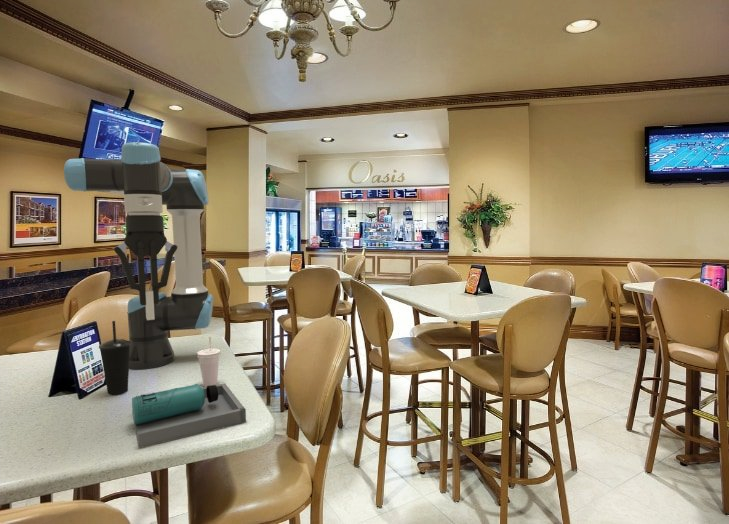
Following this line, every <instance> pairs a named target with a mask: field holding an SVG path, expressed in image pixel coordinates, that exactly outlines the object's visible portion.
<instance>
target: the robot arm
mask: <svg viewBox="0 0 729 524" xmlns="http://www.w3.org/2000/svg"><path fill="white" fill-rule="evenodd" d="M120 156H121V158H117V159H116V158H115V159H107V158H106V159H105V158H104V159H103V158H83V157H81V158H70V159H68V160H66V161H65V163H64V167H63V176H64V177H63V178H64V180H65V183H66V186H67V188H69V189H70V190H72V191H76V192H77V191H79V192H97V193H107V194H113V195H118V196H122V197H123V198H124V199H123V201H124V202H123V203H124V212H125V213H126V214H127V215H126V216H125V232H126V235H125V237H124V239H123V242H121V243H120V244H119V245H118V246H114V247H113V251H114V252H115V253H116V255H117V256H118V257H119V259H120V262H121V265H122V268H123V271H124V275H125V276H126V280H127V282H128V285H129V287H130V289H132V290H137V291H138V295H137V296H134V297H132V298H130V299H129V300H128V301H127V312H126V314H127V322H128V323H127V325H128V327H127V328H128V338H129V339H128V341H130V342H131V344H130V353H129V369H131V370H145V369H153V368H159V367H162V366H167V365H168V363H169V364H171V363H172V362H174V361H175V351H174V348H173V346H172V345H171V341H170V340H169V337H168V336H169V335H168V333H169V332H170V331H171V332H172V331H186V330H195V331H196V330H200V329H207V328H208V327H209V326H210V324H211V320H212V318H213V317H212V316H213V308H214V295H213V294H211V293H209V289H208V288H207V287H206V286H205V285H204V277H203V276H204V275H203V259H202V258H203V256H202V255H203V254H202V240H201V239H202V238H201V235H202V234H201V218H200V217H201V215H202V213H203V212H204V211H205V206H207V205H209V192H208V187H207V183H206V179H205V177H204V174H203V172H202V171H201V170H198V169H189V168H183V169H182V168H181V169H180V168H178V169H177V168H175V169H174V168H169V167H168V166H167V164H165V163H163V161H161V160H162V158H161V154H160V149H159V147H158V146H157V145H156V144H154V143H153V144H152V143H149V142H148V143H147V142H139V141H138V142H137V141H136V142H135V141H134V142H126V143H124V144H122V146H121V155H120ZM163 206H166V211H167V212H168V213H169V214H170V215H171V218H172V219H171V220H172V238H173V239H172V240H173V243H172V242H170V241H168V239H167V236H166V235H165V228H164V216H162V215H161V214H162V213H163V211H164V210H163ZM164 247H165V248H164ZM128 248H129V250H130V251H131V252H132V253H133V254H134V255H135V256H136V261H137V266H136V267H137V279H138V280H137V281H138V283H136V281H135V277H134V274H133V272H132V269H131V266H130V263H129V261H128V257H127V255H126V253H127V252H128V250H127V249H128ZM163 248H164V250H165V252H166V253H165V257H164V261H163V266H162V271H161V274H160V275H161V276H160V280H159V272H158V255H159V253H160V252H162V249H163ZM148 256H149V257H148ZM145 257H148V258H149V266H150V267H149V268H150V269H149V270H150V283H151V286H150V287H151V289H147V287H146V271H145V270H146V269H145ZM173 257H174V271H175V272H174V273H175V274H174V275H175V287H174V288H173V289H172V291H171V296H167V294H166V292H164V291H162V292H161V291H159V290H160V289H162V288H165V287H166V286H167V285H168V280H169V278H170V277H169V276H170V270H171V268H172V267H171V266H172V263H173ZM173 360H174V361H173ZM170 362H171V363H170Z"/></svg>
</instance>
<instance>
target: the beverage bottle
mask: <svg viewBox="0 0 729 524" xmlns="http://www.w3.org/2000/svg"><path fill="white" fill-rule="evenodd" d="M216 385H217V384H216ZM216 385H211V386H207V389H206V393H207V399H208V402H209V403H211V402H214V401H217V400H218V389H217V386H216ZM204 403H205V396H204V390H203V386H201V385H199V384H197V383H195V384H191V385H186V386H180V387H174V388H171V389H167V390H161V391H157V392H148V393H146V394H140V395H136V396H134V397H132V399H131V404H132V406H131V407H132V417H133V424H134V425H135V426H136V425H138V424H143V423H148V422H151V421H153V422H154V421H155V420H156V421H158V420H159V419H163V418H167V417H169V418H170V417H171V416H175V415H179V414H183V413H187V412H191V411H196V410H200V409H201V408H202V407H203V405H204Z"/></svg>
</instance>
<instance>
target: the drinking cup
mask: <svg viewBox="0 0 729 524" xmlns="http://www.w3.org/2000/svg"><path fill="white" fill-rule="evenodd" d="M111 322H112V323H111V325H112V336H113V337H112V338H113V339H109V340H107V341H105V342H103V343H101V344H99V345H98V349H99V350H100V356H101V361H102V368H103V373H104V379H105V380H104V381H105V384H106V390H107V395H109V396H118V395H123V394H125V393H127V392H128V391H129V372H130V370H129V369H130V368H129V353H130V344H131V342H130V341H129V340H127V339H123V338H117V333H116V332H117V329H116V320H112V321H111Z"/></svg>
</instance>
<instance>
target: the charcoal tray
mask: <svg viewBox="0 0 729 524" xmlns="http://www.w3.org/2000/svg"><path fill="white" fill-rule="evenodd" d="M216 386H217V389H218V400H217V401H214V402H211V403H209V402H208V399H207V393H206V389H207V387H206V386H204V387H203V386H202V388H203V390H204V396H205V403H204V405H203V407H202V408H201V409H200V410H196V411H191V412H187V413H183V414H179V415H175V416H171V417H170V418H169V417H167V418H163V419H159V420H158V421H156V420H155V421H154V422H153V421H151V422H148V423H143V424H138V425H135V430H136V437H137V443H138V449H143V448H145V447H147V448H148V447H150V446H154V445H159V444H162V443H167V442H170V441H174V440H178V439H182V438H186V437H191V436H195V435H199V434H203V433H206V432H210V431H214V430H215V429H216V430H220V429H223V427H224V428H227V426H228V427H231V426H235V425H240V424H244V423H247V413H246V408H245V407H244V405H243V404H242V403H241V402H240V400H239V399H238V398H237V397H236V395H235V393H233V391H232V390H231V389H230V387H228V385H227V384H226V383H224V382H223V383H219V384H216Z"/></svg>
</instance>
